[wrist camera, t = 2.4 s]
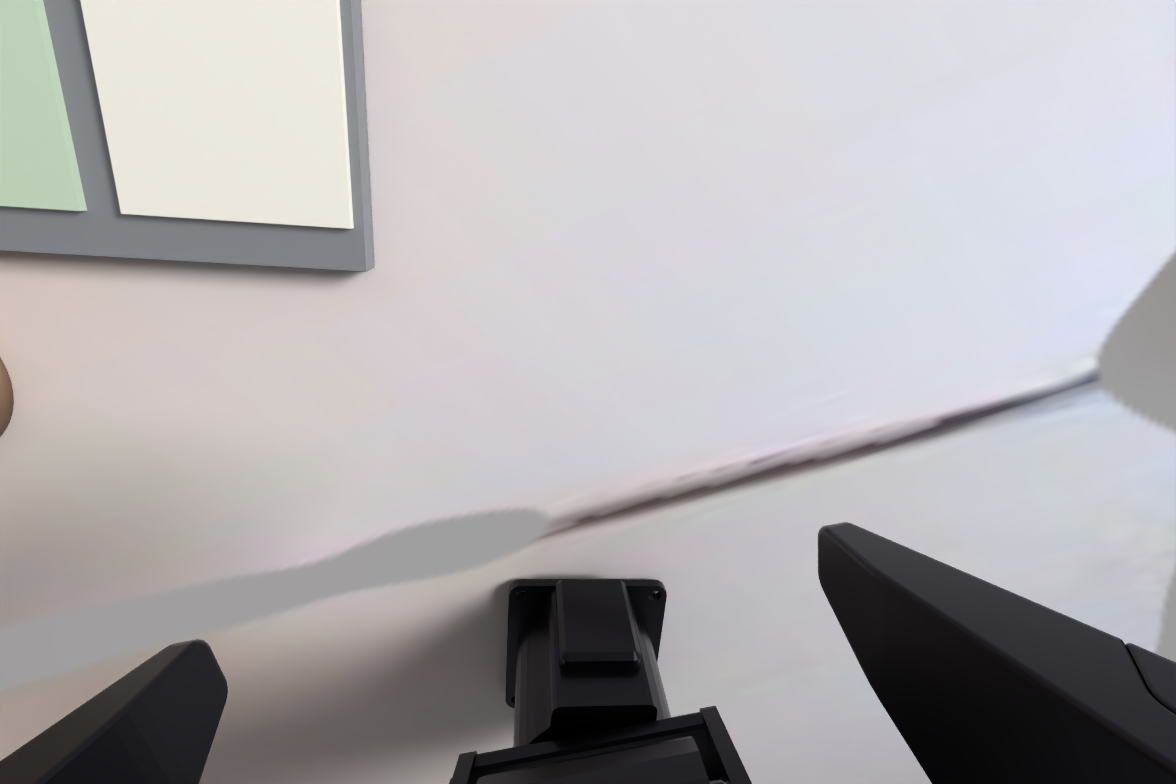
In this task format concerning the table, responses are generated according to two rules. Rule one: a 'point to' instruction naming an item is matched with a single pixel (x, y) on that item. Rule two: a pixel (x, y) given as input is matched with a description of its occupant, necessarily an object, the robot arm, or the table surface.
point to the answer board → (186, 131)
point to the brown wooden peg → (5, 398)
